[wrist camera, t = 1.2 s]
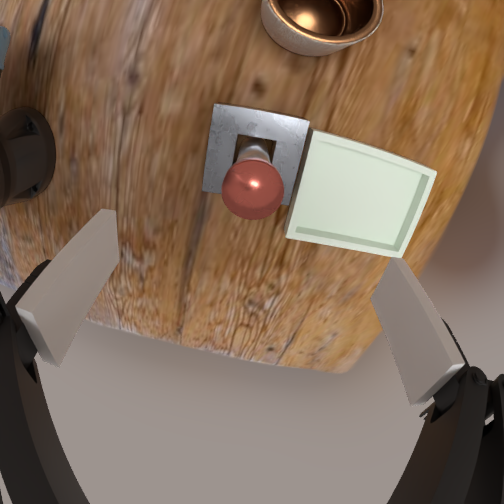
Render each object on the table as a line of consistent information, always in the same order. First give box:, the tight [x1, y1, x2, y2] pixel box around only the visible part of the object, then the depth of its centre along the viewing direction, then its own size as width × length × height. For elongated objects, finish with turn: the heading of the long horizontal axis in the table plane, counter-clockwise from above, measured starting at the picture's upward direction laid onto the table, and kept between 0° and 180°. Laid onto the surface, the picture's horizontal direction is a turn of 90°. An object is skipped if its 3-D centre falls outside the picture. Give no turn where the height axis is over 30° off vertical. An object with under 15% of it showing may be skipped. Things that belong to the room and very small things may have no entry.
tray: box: [284, 128, 437, 258], centre depth 34 cm, size 18×14×2 cm
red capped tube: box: [221, 136, 284, 220], centre depth 26 cm, size 4×4×15 cm
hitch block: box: [202, 102, 310, 206], centre depth 31 cm, size 10×10×4 cm
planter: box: [261, 0, 383, 56], centre depth 19 cm, size 11×11×10 cm
